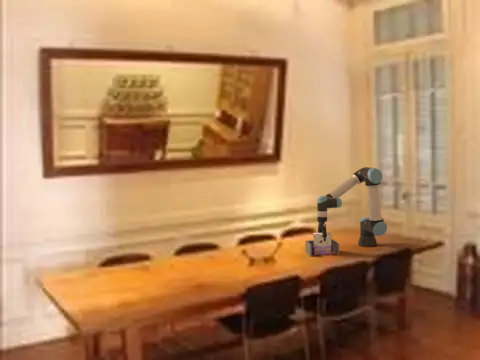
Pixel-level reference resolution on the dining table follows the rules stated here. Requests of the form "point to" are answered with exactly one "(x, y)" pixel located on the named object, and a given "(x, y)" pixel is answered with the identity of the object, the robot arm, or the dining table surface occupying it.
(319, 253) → the candy box
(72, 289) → the dining table surface
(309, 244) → the open box
